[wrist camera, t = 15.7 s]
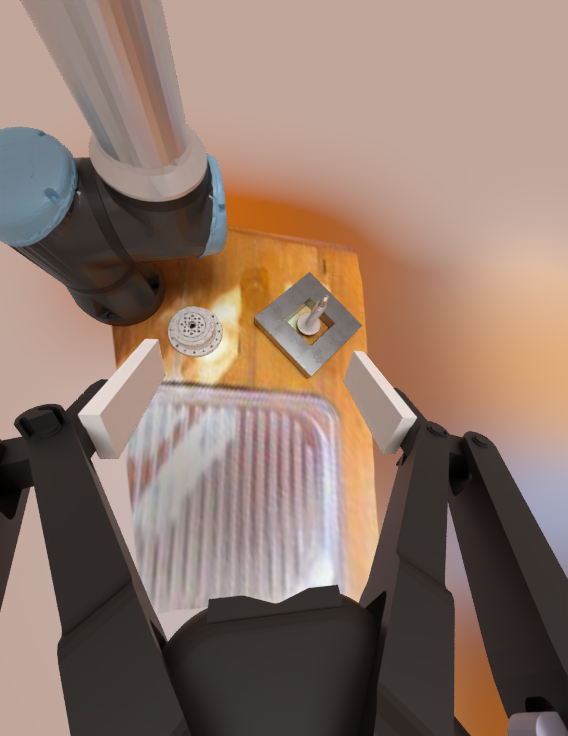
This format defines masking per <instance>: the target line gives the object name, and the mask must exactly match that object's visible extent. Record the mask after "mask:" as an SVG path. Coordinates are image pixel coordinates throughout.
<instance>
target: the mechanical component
mask: <svg viewBox="0 0 568 736" xmlns="http://www.w3.org/2000/svg"><path fill="white" fill-rule="evenodd" d="M213 317H214V318H213ZM194 324H195V325H196V327H194V328H192V329H191V328H190V326H191V325H194ZM218 332H220V333H218ZM168 335H169V340H170V341H171V343H172V345H173V346H174V347H175V348H176V349H177V350H178V351H179V352H181V353H182V354H184V355H187V356H191V357H201V356H204V355H207V354H209V353H211V352H213V351H214V350H215V349H216V348H217V347H218V345H219V344H220V341H221V339H222V326H221V323H220V321H219V319H218V318H217V316H216V315H215V314H214V313H212V312H211V311H209V310H207V309H205V308H201V307H194V306H192V307H189V306H188V307H187V308H184V309H182V310H180V311H177V313H176V314H175V316H174V317H173V318H172V319H171V321H170V324H169V327H168ZM178 346H179V347H178ZM211 347H213V348H211ZM194 353H195V354H194Z"/></svg>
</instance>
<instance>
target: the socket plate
mask: <svg viewBox="0 0 568 736" xmlns="http://www.w3.org/2000/svg"><path fill="white" fill-rule="evenodd" d="M325 295H328V296H329V300H328V303H327V306H326V308H325V310H324V311H323V313H322V314H321V316H320V317H319V318H320V319H321V320H322V321H323V322H324V323H325V324H326V325H327V326H328V327H329V328H330V329H329V330H328V331H327V332H325V333H324V334H323V335H322V336H321V337H320V338H319V339H318V340H317V341H316V342H315V343H314V344H313V345H312V346H310V345H309V344H308V343H307V342H306V341H305V340H304V339H303V338H302V337H301V336H300V335H299V334H298V333H297V332H296V331H295V330H294V329H293V328H292V327H291V325H290V324H289V323H288V322H287V321H288V320H289V319H290V318H291V317H292V316H294V315H295V314H296V313H297V312H298V311H299V310H301V309H302V308H303V307H304V306H305V305H307V306H308V307H309V308H310V309H311V310H313V308H314V306H315V305H316V303H317V302H318V301H320V300H321V299H323V297H324V296H325ZM254 324H255V325H256V326H257V327H258V328H259V329H260V330H261V331H262V332H263V333H264V334H265V335H266V336H267V337H268V338H269V339H270V340H271V341H272V343H273V344H274V345H275V346H276V347H277V348H278V349H279V350H280V351H281V352H282V353H283V354H284V355H285V356H286V357H287V358H288V359H289V360H290V361H291V362H292V363H293V364H294V365H295V366H296V367H297V369H298V370H299V371H300V372H301V373H302V374H303V375H304V376H305V377H306V378H309V377H311V376H312V375H313V374H314V373H315V372H316V371H317V370H318V369H319V368H320V367H321V366H322V365H323V364H324V363H325V362H326V361H327V360H328V359H329V358H330V357H331V356H332V355H333V354H334V353H335V352H336V351H337V350H338V349H339V348H340V347H341V346H342V345H343V344H344V343H345V342H346V341H347V340H348V339H349V338H350V337H351V336H352V335H353V334H354V333H355V332H356V331H357V330H358V329H359V328H360V327H361V326H362V325H361V324H360V323H359V322H358V321H357V320H356V319H355V318H354V317H353V316H352V315H351V314H350V313H349V312H348V311H347V310H346V308H345V307H344V306H343V305H342V304H341V303H340V302H339V301H338V300H337V299H336V298H335V297H334V296H333V295H332V294H331V293H330V292H329V291H328V290H327V289H326V288H325V287H324V286H323V285H322V284H321V283H320V282H319V281H318V280H317V279H316V278H315V277H314V276H313V275H312V274H311V273H310V272H309V273H308V274H307V275H305V276H304V277H303V278H302V279H300V280H299V281H298V282H297V283H296V284H294V285H293V286H292V287H291V288H289V289H288V290H287V291H286V292H285V293H283V294H282V295H281V296H280V297H278V298H277V299H276V300H275V301H274V302H272V303H271V304H270V305H269V306H268V307H266V308H265V309H264V310H263V311H261V312H260V313H259V314H258V315H257V316H255V317H254Z"/></svg>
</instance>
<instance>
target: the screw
mask: <svg viewBox="0 0 568 736" xmlns="http://www.w3.org/2000/svg"><path fill="white" fill-rule="evenodd" d="M328 300H329V296H328V295H325V296H324V297H323V299H321V300H320V301H318V302H317V303H316V305H315V306H314V308H313V310H312V311H311V313H304V314H302V315H301V316H300V317H299V319H298V321H297V325H298V328H299V330H300V331H301V332H302V333H303V334H306V335H313V334H315V333H317V332H318V330H319V328H320V321H319V319H318V318H319V317H320V316H321V314H322V313H323V311H324V310H325V308H326V306H327V303H328Z"/></svg>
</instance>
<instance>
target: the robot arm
mask: <svg viewBox="0 0 568 736" xmlns="http://www.w3.org/2000/svg"><path fill="white" fill-rule="evenodd" d="M21 2H22V4H23V6H24V8H25V10H26V11H27V13H28V15H29V17H30V19H31V21H32V22H33V24H34V26H35V28H36V30H37V31H38V33H39V35H40V37H41V39H42V41H43V43H44V44H45V46H46V48H47V50H48V52H49V53H50V55H51V57H52V59H53V61H54V62H55V64H56V66H57V68H58V70H59V72H60V74H61V76H62V77H63V79H64V81H65V83H66V85H67V87H68V88H69V90H70V92H71V94H72V95H73V97H74V99H75V101H76V103H77V105H78V107H79V109H80V110H81V112H82V114H83V116H84V118H85V119H86V121H87V123H88V125H89V127H90V129H91V131H92V132H93V133H92V135H91V137H90V141H89V155H90V157H89V158H73V156H72V154H71V152H70V151H69V150H68V149H67V148H66V147H65V146H64V145H62V144H61V143H60V142H59V141H58V140H57V139H55V138H54V137H53V136H51V135H49V134H45V133H44V132H43V131H40V130H38V129H34V128H28V127H11V128H5V129H1V130H0V241H2V242H4V243H5V244H8V245H9V246H10V247H12V248H13V249H15V250H16V251H17V252H19V253H20V254H22V255H23V256H25V257H26V258H27V259H29V260H30V261H32V262H33V263H34V264H36V265H37V266H39V267H40V268H41V269H43V270H45V271H46V272H47V273H49V274H50V275H52V276H53V277H55V278H56V279H57V280H59V281H60V282H62V283H63V284H64V285H66V287H67V289H68V290H69V292H70V294H71V295H72V297H73V298H74V300H75V302H76V303H77V305H78V306H79V307H80V308H81V309H82V310H83V311H84V312H86V313H87V314H89V315H90V316H91V317H93V318H95V319H96V320H98V321H100V322H102V323H105V324H109V325H114V326H127V325H133V324H136V323H139V322H142V321H144V320H145V319H147V318H149V317H150V316H151V315H153V314H154V313H155V312H156V311H157V309H158V308H159V307H160V305H161V303H162V301H163V298H164V295H165V284H164V280H163V278H162V276H161V274H160V272H159V270H158V269H157V267H156V266H155V265H154V263H153V262H160V261H170V260H180V259H191V258H202V257H204V256H207V255H213V254H218V253H220V252H221V251H222V250H223V248H224V246H225V243H226V237H227V215H226V211H225V193H224V186H223V180H222V175H221V171H220V168H219V164H218V162H217V160H216V158H215V157H214V156H212V155H209V154H207V153H206V151H205V147H204V145H203V143H202V141H201V139H200V137H199V136H198V135H197V133H196V132H195V131H194V130H193V129H192V128H191V127H190V126H189V125H188V124H186V121H185V116H184V111H183V106H182V101H181V96H180V91H179V86H178V81H177V76H176V71H175V66H174V61H173V56H172V51H171V47H170V41H169V36H168V31H167V27H166V22H165V17H164V12H163V7H162V2H161V0H21ZM164 377H165V371H164V366H163V361H162V355H161V350H160V345H159V340H158V339H145V340H144V341H143V342H142V343H141V344H140V345H139V346H138V348H137V349H136V350H135V351H134V352H133V353H132V354H131V355H130V357H129V358H128V359H127V360H126V361H125V362H124V363H123V364H122V365H121V367H120V368H119V369H118V370H117V371H116V372H115V373H114V375H113V376H112V377H111V378H110V379H109V380H103V379H101V380H99V381H97V382H96V383H94V384H92V385H90V386H89V387H88V389H86V390H85V392H84V394H82V395H81V396H80V397H79V398H78V400H76V401H75V402H74V403H73V404H72V405H71V406H70V407H69V408H68V409H67V410H66V411H65V410H64V409H63V407H62V406H61V405H57V404H46V405H41V406H37V407H34V408H32V409H29V410H27V411H25V412H24V413H22V414H21V415H20V416H18V417H17V418H16V420H15V422H14V425H15V427H16V428H17V429H18V431H19V432H20V434H21V435H22V436H23V437H18V438H13V439H8V440H3V441H1V440H0V610H1V606H2V602H3V598H4V594H5V590H6V586H7V581H8V577H9V573H10V568H11V565H12V561H13V556H14V552H15V548H16V544H17V540H18V536H19V532H20V528H21V524H22V519H23V515H24V511H25V507H26V503H27V498H28V494H29V490H30V487H33V486H34V487H35V492H36V498H37V503H38V508H39V513H40V518H41V524H42V529H43V534H44V539H45V544H46V549H47V554H48V559H49V564H50V570H51V575H52V580H53V585H54V590H55V595H56V601H57V606H58V611H59V616H60V621H61V626H62V637H61V639H60V641H59V643H58V649H57V656H58V665H59V671H60V676H61V682H62V688H63V694H64V700H65V706H66V711H67V717H68V723H69V728H70V734H71V736H470V734H469V733H468V732H467V731H466V730H465V728H464V727H463V726H462V725H461V723H460V722H459V721H458V720H457V719H456V717H455V716H454V629H455V615H454V614H455V608H454V599H453V596H452V593H451V592H450V591H448V590H447V589H446V586H445V559H446V557H445V556H446V532H447V531H446V530H447V504H448V503H449V507H450V511H451V515H452V519H453V523H454V527H455V531H456V535H457V539H458V543H459V547H460V550H461V554H462V559H463V563H464V567H465V570H466V574H467V578H468V582H469V587H470V590H471V594H472V598H473V602H474V606H475V610H476V614H477V618H478V622H479V626H480V630H481V634H482V638H483V642H484V646H485V650H486V654H487V657H488V661H489V664H490V668H491V671H492V674H493V678H494V681H495V684H496V687H497V689H498V692H499V695H500V698H501V701H502V704H503V706H504V709H505V712H506V714H507V717H508V719H509V720H508V727H507V733H508V736H568V579H567V577H566V575H565V573H564V571H563V570H562V568H561V566H560V564H559V562H558V561H557V559H556V557H555V555H554V553H553V551H552V549H551V547H550V546H549V544H548V542H547V540H546V538H545V537H544V535H543V533H542V531H541V529H540V527H539V526H538V524H537V522H536V520H535V518H534V516H533V514H532V513H531V511H530V509H529V507H528V505H527V503H526V502H525V500H524V498H523V496H522V494H521V492H520V490H519V489H518V487H517V485H516V483H515V482H514V479H513V478H512V476H511V474H510V472H509V470H508V468H507V466H506V465H505V463H504V461H503V459H502V457H501V456H500V454H499V452H498V450H497V448H496V446H495V445H494V444H493V443H492V442H491V441H490V440H489V439H488V438H487V437H485V436H483V435H481V434H479V433H476V432H471V431H469V432H466V433H465V434H464V436H463V437H458V436H454V435H450V434H449V433H448V432H447V431H446V430H445V429H444V428H443V427H442V426H440V425H438V424H437V423H433V422H431V421H427V420H426V419H425V418H424V416H423V415H422V414H421V413H420V412H419V410H418V409H417V408H416V407H415V406H414V405H413V403H412V402H411V401H410V400H409V399H408V398H407V396H406V395H405V394H404V393H403V392H401V391H400V390H399V389H397V388H393V387H392V386H391V385H390V384H389V382H388V381H387V380H386V379H385V378H384V376H383V375H382V374H381V373H380V371H379V370H378V369H377V368H376V366H375V365H374V364H373V363H372V361H371V360H370V359H369V358H368V357H367V355H366V354H365V353H364V352H363V351H353V353H352V356H351V360H350V363H349V366H348V369H347V372H346V375H345V378H344V381H343V382H344V383H345V385H346V387H347V389H348V391H349V393H350V394H351V396H352V398H353V400H354V402H355V404H356V405H357V407H358V409H359V411H360V413H361V415H362V417H363V418H364V420H365V422H366V424H367V426H368V428H369V429H370V431H371V433H372V435H373V437H374V438H375V440H376V442H377V444H378V446H379V448H380V450H381V451H382V453H383V454H396V452H397V450H398V449H399V447H401V448H402V450H403V451H404V453H403V454H402V456H401V457H400V459H399V461H398V462H397V464H396V465H397V466H398V465H399V466H398V470H397V474H396V478H395V482H394V485H393V489H392V493H391V497H390V500H389V504H388V508H387V512H386V515H385V519H384V523H383V527H382V530H381V535H380V538H379V542H378V545H377V549H376V553H375V557H374V560H373V564H372V568H371V572H370V575H369V579H368V582H367V585H366V587H365V589H364V591H363V593H362V595H361V598H360V601H359V603H358V602H356V601H354V600H353V599H351V598H349V597H347V596H345V595H342V594H340V592H339V588H338V585H332V586H324V587H315V588H308V589H306V590H304V591H302V592H300V593H298V594H296V595H294V596H292V597H290V598H288V599H286V600H284V601H282V602H280V603H277V604H275V603H270V602H266V601H262V600H258V599H254V598H251V597H247V596H234V597H225V598H216V599H209V604H208V608H207V609H205V610H203V611H201V612H199V613H198V614H197V615H195V616H193V617H192V618H191V619H189V620H188V621H187V622H186V623H185V624H183V625H182V626H181V628H180V629H179V630H178V631H177V632H176V633H175V634H174V635H173V636H172V638H171V639H170V640H169V641H167V639H166V636H165V634H164V632H163V629H162V627H161V624H160V622H159V620H158V618H157V616H156V614H155V612H154V610H153V607H152V605H151V603H150V601H149V598H148V596H147V593H146V591H145V589H144V586H143V584H142V581H141V579H140V576H139V574H138V572H137V569H136V567H135V564H134V562H133V560H132V557H131V555H130V552H129V550H128V547H127V545H126V543H125V540H124V538H123V535H122V533H121V531H120V528H119V526H118V523H117V521H116V519H115V516H114V514H113V511H112V509H111V506H110V504H109V502H108V499H107V497H106V494H105V492H104V490H103V487H102V485H101V482H100V480H99V477H98V475H97V473H96V471H95V468H94V466H93V463H92V461H91V459H90V458H91V457H92V455H93V454H94V452H95V451H96V452H97V454H98V456H99V458H100V459H118V458H119V457H120V455H121V453H122V451H123V450H124V448H125V446H126V444H127V443H128V441H129V439H130V437H131V435H132V434H133V432H134V430H135V428H136V426H137V425H138V423H139V421H140V419H141V418H142V416H143V414H144V412H145V410H146V409H147V407H148V405H149V403H150V402H151V400H152V398H153V396H154V394H155V393H156V391H157V389H158V387H159V386H160V384H161V382H162V380H163V378H164Z"/></svg>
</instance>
